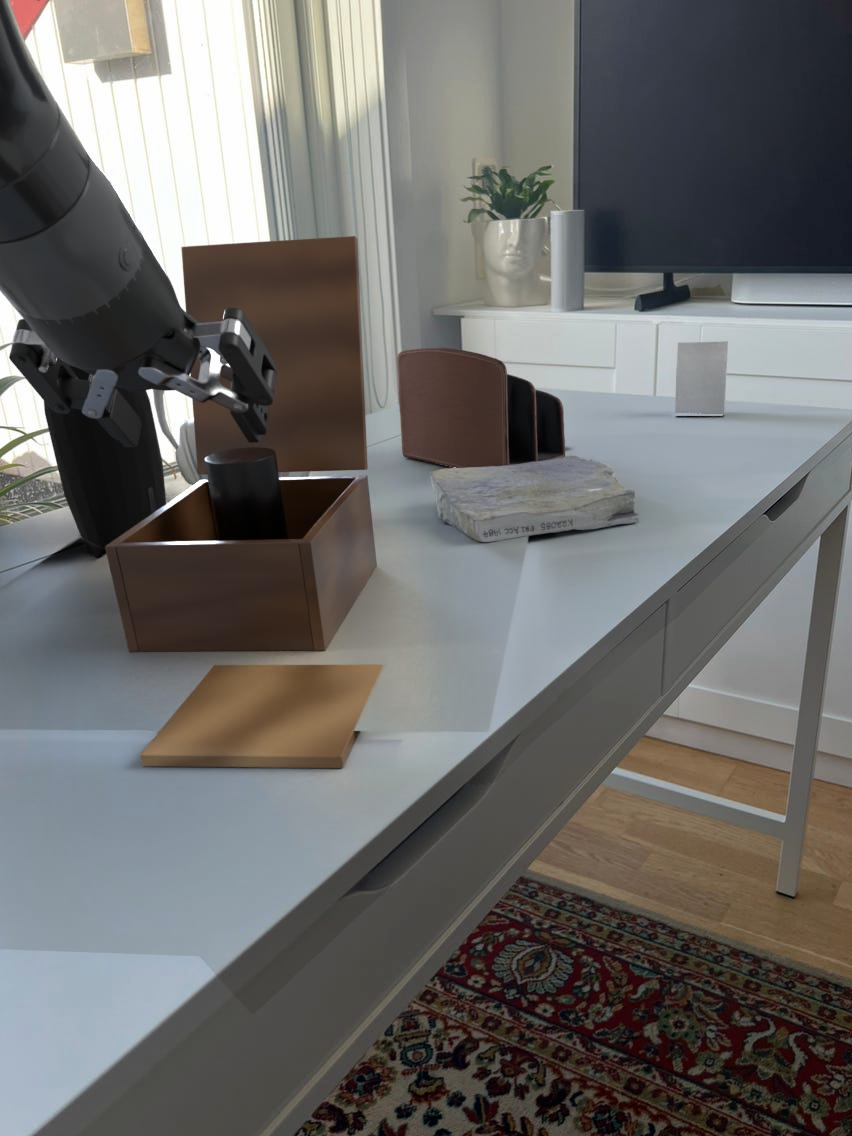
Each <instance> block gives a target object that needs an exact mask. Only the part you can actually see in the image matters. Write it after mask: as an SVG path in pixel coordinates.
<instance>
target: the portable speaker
mask: <svg viewBox="0 0 852 1136" xmlns="http://www.w3.org/2000/svg"><path fill="white" fill-rule="evenodd" d="M68 365H69V364H68ZM69 366H70V368H71V369H72V370H73V372H74V373H75V375H76V376H77V379H81V380H87V381H88V379H89V376H90V374H89V373H87V372H85V371H83V370H81V369H79V368H77V367H74V366H71V365H69ZM115 388H117V390H118V391H119V392H120V393H121V395H122V396H123V397H124V398H125V400H126V401H127V402H128V404H129V405H130V406H131V407H132V409H133V410H134V411H135V412H136V414H137V415H138V416H139V417H140V419H141V424H142V427H141V432H140V438H139V443H138V446H137V447H125V446H124V445H123V444H122V443H121V442H120V441H119V440H116V439H115V438H113V437H111V436H110V435H109V433H108V432H107V431H106V430H105V429H104V427H102V425H101V424H100V423H99V422H98V421H97V420H96V419H95V418H90V417H87V416H86V415H84V414H83V413H82V410H80V409H74V408H71V409H70V412H69V413H67V414H60V413H57V412H55V411H53V410H52V409H50V407H49V406H48V405H47V404H46V402H45V401H44V400H43V408H44V415H45V421H46V424H47V428H48V432H49V437H50V441H51V446H52V449H53V453H54V457H55V462H56V466H57V470H58V475H59V480H60V484H61V488H62V491H63V494H64V495H63V497H64V499H65V500H66V503H67V506H68V508H69V511H70V512H71V515H72V518H73V520H74V523H75V525H76V527H77V530H78V532H79V535H80V538H81V539H83V543H84V546H85V551H86V554H88V555H90V556H92V557H94V558H101V557H104V556H105V553H106V549H105V546H106V545H108V544H109V543H111V542H112V541H114V540H115V539H117V538H118V537H119V536H121V535H122V534H124V533H125V532H127V531H128V530H129V529H131V528H132V527H134V526H135V525H137V524H138V523H140V522H141V521H142V520H144V519H145V518H147V517H148V516H150V515H151V514H153V513H154V512H155V511H157V510H158V509H160V508H161V507H163V506H164V505H166V504H167V497H166V496H167V495H166V485H165V473H164V462H163V457H162V454H161V448H160V443H159V438H158V433H157V429H156V424H155V423H156V422H155V419H154V414H153V410H152V405H151V404H152V403H151V400H150V396H149V394H148V392H147V390H145V391H141V392H128V391H127V390H126V389H124V388H119V387H116V386H115V387H114V389H115Z"/></svg>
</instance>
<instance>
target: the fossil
mask: <svg viewBox="0 0 852 1136" xmlns="http://www.w3.org/2000/svg"><path fill="white" fill-rule="evenodd" d="M613 473H614V470H613V469H612V468H611V467H609V466H607V465H606V464H603V463H601V462H600V461H595V460H592V459H587V458H582V457H578V456H577V455H567V456H565V457H561V458H557V459H551V460H544V461H538V462H528V463H522V464H514V465H506V466H486V467H467V468H451V467H447V468H440V469H436V470H432V471H430V474H429V477H430V482H431V485H432V490H433V494H434V495H435V504H436V511H437V512H438V518H439V519H440V520H441V521H443V522H445V523H446V524H449V525H450V526H451V527H454V528H455V529H456V530H458V531H459V532H461V533H464V534H465V535H466V536H467V537H469V538H471V539H472V540H475V541H476V542H480V543H492V542H501V541H506V540H511V539H516V538H524V537H529V536H530V537H531V536H538V535H544V534H553V533H555V534H556V533H562V532H567V531H572V530H576V531H588V530H589V531H590V530H597V529H601V528H609V527H613V526H618V525H629V524H635V523H637V522H639V518H640V514H638V513H636V512H635V498H636V491H635V490H634V489H629V488H624V487H623V486H621V485H620V484H619V480H618V479H617V478H616V477H615V476H613Z"/></svg>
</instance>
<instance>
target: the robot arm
mask: <svg viewBox="0 0 852 1136" xmlns="http://www.w3.org/2000/svg"><path fill="white" fill-rule="evenodd" d="M80 140H81V139H79V136H78V135H77V134H76V131H75V130H74V128H73V127H72V125H71V124H70V122H69V120H68V119H67V117H66V115H65V114H64V112H63V110H62V109H61V107H60V105H59V104H58V102H57V100H56V99H55V96H53V94H52V92H51V90H50V89H49V87H48V85H47V83H46V81H45V80H44V78H43V76H42V75H41V72H40V71H39V68H38V67H37V64H36V63H35V60H34V58H33V56H32V54H31V51H30V50H29V47H28V46H27V43H26V41H25V39H24V36H23V34H22V31H21V29H20V27H19V24H18V21H17V19H16V16H15V13H14V10H13V7H12V5H11V1H10V0H0V293H1V294H2V295H3V296H4V297H5V299H6V300H7V301H8V302H9V304H10V305H11V306H12V307H13V308H14V310H16V312H17V313H18V314H19V315H20V316H21V317H22V318H21V319H19V320H18V321H17V324H16V328H15V331H14V335H13V338H12V343H11V348H10V352H9V356H8V358H9V361H10V362H12V364H13V365H14V366H15V367H16V369H17V370H18V371H19V373H20V374H21V375H22V376H23V377H24V378H25V380H26V381H27V382H28V383H29V384H30V386H31V387H32V388H33V390H35V392H36V393H37V394H38V395H39V396H40V398H41V399H42V400H43V402H44V401H45V402H46V404H47V405H48V406H49V407H50V409H52V410H53V411H55V412H57V413H60V414H67V413H69V412H70V409H71V408H74V409H80V410H82V413H83V414H84V415H86V416H87V417H90V418H95V419H96V420H97V421H98V422H99V423H100V424H101V425H102V427H104V429H105V430H106V431H107V432H108V433H109V435H110V436H111V437H113V438H115V439H116V440H119V441H120V442H121V443H122V444H123V445H124V446H125V447H137V446H138V443H139V438H140V432H141V427H142V424H141V419H140V417H139V416H138V415H137V414H136V412H135V411H134V410H133V409H132V407H131V406H130V405H129V404H128V402H127V401H126V400H125V398H124V397H123V396H122V395H121V393H120V392H119V391H118V390H117V388H115V389H114V387H115V386H116V387H119V388H124V389H126V390H127V391H128V392H141V391H145V390H146V391H150V390H153V389H155V390H164V392H165V391H166V392H167V391H176V392H178V393H180V394H182V395H185V396H186V397H188V398H190V399H191V400H192V399H194V400H196V401H198V402H201V403H204V402H206V401H208V400H212V401H214V402H216V403H218V404H220V405H221V406H223V407H225V408H227V409H229V410H231V411H230V414H231V415H232V417H233V418H234V420H235V422H236V423H237V425H238V426H239V428H240V429H241V431H242V433H243V434H244V436H245V437H246V439H247V440H248V442H249V443H253V442H261V439H262V435H266V430H267V422H268V415H269V411H268V409H267V408H266V406H269V405H271V404H272V403H273V398H274V391H275V383H276V376H277V365H276V364H275V362H274V360H273V359H272V357H271V356H270V354H269V352H268V351H267V349H266V347H265V346H264V344H263V342H262V341H261V339H260V337H259V336H258V334H257V333H256V331H255V329H254V328H253V326H252V324H251V323H250V321H249V319H248V318H247V316H246V315H245V313H244V312H243V311H242V310H240V309H238V308H227V309H226V310H225V311H224V316H223V321H218V322H208V323H199V322H198V321H197V320H196V319H195V318H193V317H192V316H190V315H189V314H187V313H186V310H184V309H183V308H182V307H181V305H180V302H179V299H178V297H177V294H176V291H175V289H174V286H173V284H172V281H171V280H170V278H169V276H168V274H167V273H166V271H165V269H164V268H163V266H162V264H161V262H160V261H159V259H158V258H157V255H156V254H155V253H154V251H153V249H152V248H151V246H150V245H149V243H148V241H147V240H146V238H145V236H144V234H143V233H142V230H141V229H140V228H139V226H138V224H137V223H136V221H135V219H134V218H133V216H132V214H131V213H130V211H129V210H128V208H127V206H126V204H125V203H124V201H123V199H122V198H121V196H120V194H119V193H118V191H117V189H116V187H115V186H114V185H113V183H112V182H111V181H110V179H109V178H108V177H107V175H106V174H105V173H104V171H103V170H102V169H101V168H100V167H99V165H98V164H97V163H96V162H95V161H94V160H93V158H92V157H91V156H90V154H89V152H88V151H87V149H86V148H85V146H84V145H83V143H82V141H80ZM197 358H198V359H199V361H200V363H201V367H200V373H199V378H198V380H196V379H195V378H193V377H191V374H190V373H191V370H192V368H193V366H194V364H195V361H196V359H197ZM68 364H69V365H71V366H74V367H77V368H79V369H81V370H83V371H85V372H87V373H89V374H90V376H89V379H88V381H87V380H81V379H77V376H76V375H75V373H74V372H73V370H72V369H71V368H70V366H69V365H68ZM220 376H222V377H224V378H226V379H227V380H229V381H231V382H232V383H231V389H230V390H229V389H227V388H225V387H224V386H222V385H221V384H220V382H219V377H220Z"/></svg>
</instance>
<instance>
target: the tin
mask: <svg viewBox="0 0 852 1136" xmlns="http://www.w3.org/2000/svg"><path fill="white" fill-rule="evenodd" d="M205 466H206V471H207V477H208V483H209V488H210V494H211V500H212V505H213V511H214V517H215V522H216V528H217V533H218V539H219V541H231V540H279V539H288V534H287V527H286V520H285V513H284V506H283V499H282V492H281V486H280V479H279V472H278V465H277V458H276V452H275V451H274V450H273V449H269V448H261V447H250V448H238V449H231V450H225V451H221V452H217V453H214V454H211V455H209V456H207V457H206V458H205Z"/></svg>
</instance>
